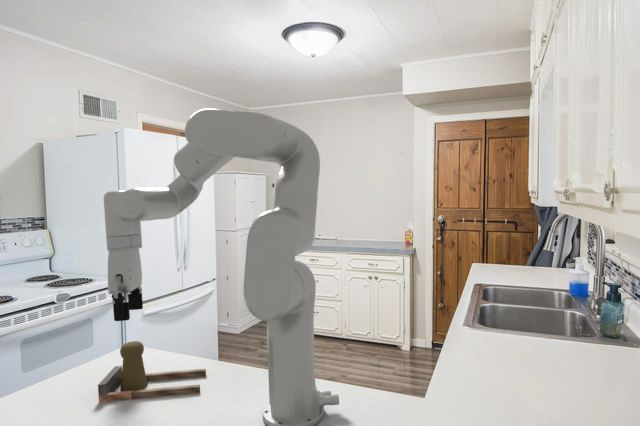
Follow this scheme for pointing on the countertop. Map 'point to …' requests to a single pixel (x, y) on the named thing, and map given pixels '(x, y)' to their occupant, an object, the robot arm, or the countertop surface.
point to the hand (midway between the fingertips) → (129, 314)
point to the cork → (133, 367)
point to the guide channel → (114, 380)
